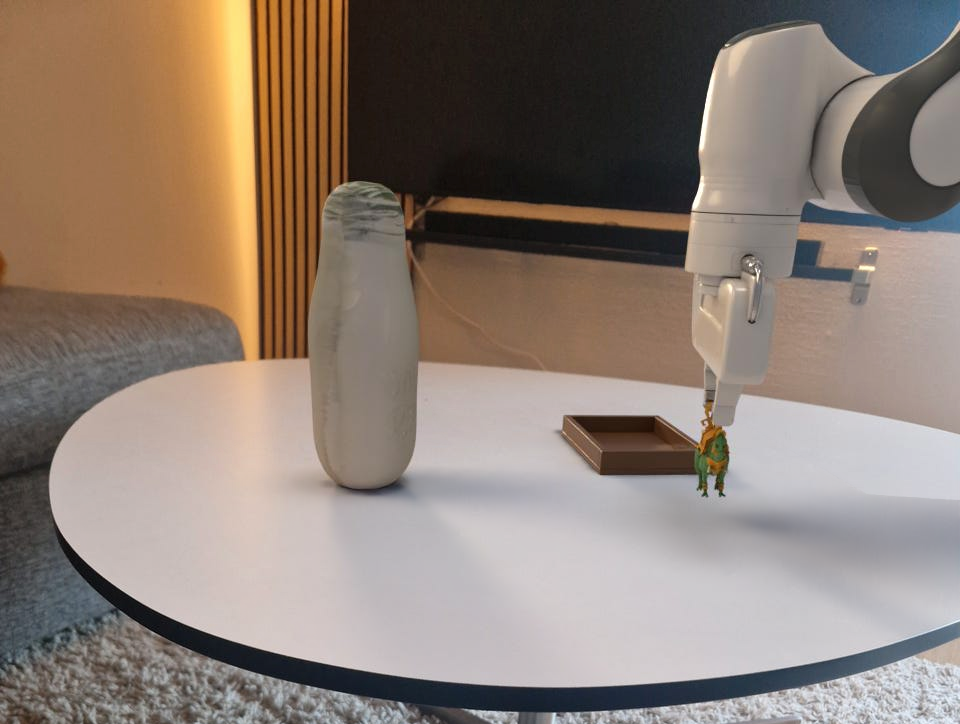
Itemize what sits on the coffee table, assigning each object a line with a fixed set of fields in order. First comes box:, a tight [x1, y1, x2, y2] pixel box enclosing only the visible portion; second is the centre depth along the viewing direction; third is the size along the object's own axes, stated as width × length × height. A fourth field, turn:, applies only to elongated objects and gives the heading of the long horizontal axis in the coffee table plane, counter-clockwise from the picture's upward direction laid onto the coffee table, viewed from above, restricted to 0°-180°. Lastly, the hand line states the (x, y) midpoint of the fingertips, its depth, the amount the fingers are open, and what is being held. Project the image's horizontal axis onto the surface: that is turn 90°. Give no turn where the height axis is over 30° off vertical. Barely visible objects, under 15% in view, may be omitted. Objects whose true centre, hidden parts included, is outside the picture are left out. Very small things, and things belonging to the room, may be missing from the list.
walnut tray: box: [561, 414, 700, 475], centre depth 110 cm, size 18×13×3 cm
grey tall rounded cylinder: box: [307, 180, 420, 490], centre depth 89 cm, size 10×10×28 cm
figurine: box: [695, 403, 731, 498], centre depth 86 cm, size 3×12×8 cm, turn 174°
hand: (716, 417), depth 84 cm, fingers closed on figurine, 4 cm apart
